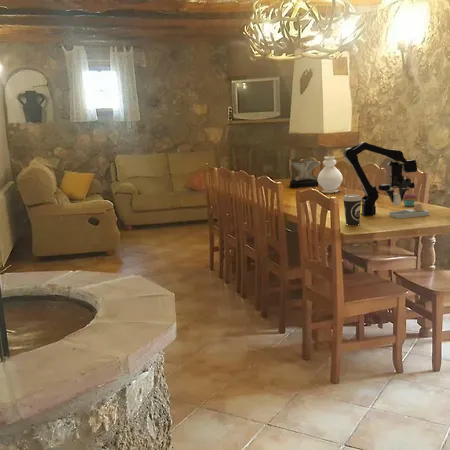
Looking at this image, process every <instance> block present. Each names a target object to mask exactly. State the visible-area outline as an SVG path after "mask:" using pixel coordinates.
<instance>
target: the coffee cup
mask: <svg viewBox="0 0 450 450" xmlns="http://www.w3.org/2000/svg"><path fill="white" fill-rule="evenodd" d="M362 198H363V197H362V196H361V195H360V194H354V193H352V194H345V195H343V197H342V201H343V206H344V207H343V208H344V217H345V225H346V224H348V225H358V224H359V225H360V219H361V218H360V217H361V209H362ZM359 225H358V226H359Z"/></svg>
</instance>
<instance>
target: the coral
mask: <svg viewBox="0 0 450 450" xmlns="http://www.w3.org/2000/svg"><path fill="white" fill-rule="evenodd" d="M321 164H322V162H319V161H317V160H316V159H315V160H313V159H312V160H311V159H307V160H305V159H302V161H298V162H297V161H296V162H294V161H293V162H290V166H292V167H293V168H294V169H295V170H296V171H297V174H298V175H296V176H292V177H291V179H290V181H289V188H290V189H294V188H298V189H299V188H313V187H319V183H318V180H317V178H318V176H315V175H314V174H311V173H312V171H313V170H314V169H316V168H317V167H318V166H320V165H321Z"/></svg>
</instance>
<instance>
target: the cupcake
mask: <svg viewBox="0 0 450 450" xmlns="http://www.w3.org/2000/svg"><path fill="white" fill-rule="evenodd" d="M408 191H409V190H407V191H406V192H405V194H404V196H403V199H402V202H403V204H404V206H405V207H413V206H415V202H416V201H417V200H418V197H417V195H415V194H414V193H409V192H408Z"/></svg>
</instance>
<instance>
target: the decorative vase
mask: <svg viewBox="0 0 450 450" xmlns="http://www.w3.org/2000/svg"><path fill="white" fill-rule="evenodd" d="M323 158H324V160H323V161H322V164H323V166H324V167H322V169H321V170H320V172H319V174H318V176H317V177H318V178H317V181H318V185H319V186H320V187H321V188H322V190H321V193H324V194H325V193H327V194H333V193H334V192H335V193H339V192H340V189H338V188H339V187H340V186H341V184H342V183H343V180H344V179H343V177H344V176H343V175H342V173H341V171H340V170H339V169H338V168H337V167H336V166H335V165H337V159H335V158H336V156H334V155H333V156H332V155H327V156H324V157H323ZM338 191H339V192H338Z"/></svg>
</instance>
